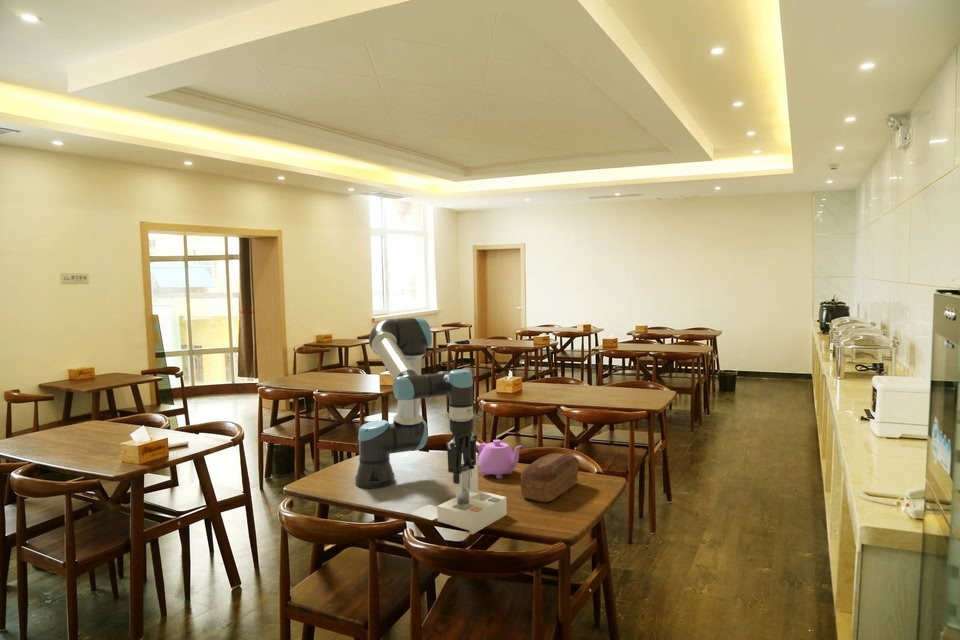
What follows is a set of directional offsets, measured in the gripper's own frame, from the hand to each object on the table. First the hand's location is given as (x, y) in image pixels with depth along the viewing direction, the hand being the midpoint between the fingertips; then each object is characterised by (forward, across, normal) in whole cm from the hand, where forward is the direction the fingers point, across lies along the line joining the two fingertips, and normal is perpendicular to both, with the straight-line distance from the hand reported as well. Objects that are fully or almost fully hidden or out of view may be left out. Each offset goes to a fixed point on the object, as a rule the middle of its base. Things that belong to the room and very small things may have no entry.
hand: (462, 490), depth 195 cm
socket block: (+11, +5, 0) cm, 12 cm away
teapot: (+11, +48, +19) cm, 53 cm away
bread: (+12, +43, -8) cm, 45 cm away
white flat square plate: (+11, 0, +14) cm, 18 cm away
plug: (+4, 0, 0) cm, 4 cm away
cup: (+11, +20, +14) cm, 27 cm away
